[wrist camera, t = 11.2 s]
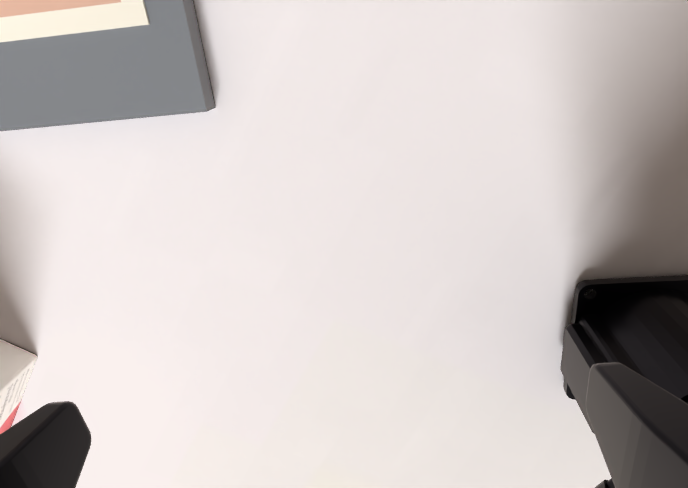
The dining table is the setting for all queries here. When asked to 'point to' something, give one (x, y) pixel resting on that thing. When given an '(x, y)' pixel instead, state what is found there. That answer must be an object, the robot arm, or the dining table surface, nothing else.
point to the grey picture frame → (99, 61)
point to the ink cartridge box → (13, 380)
